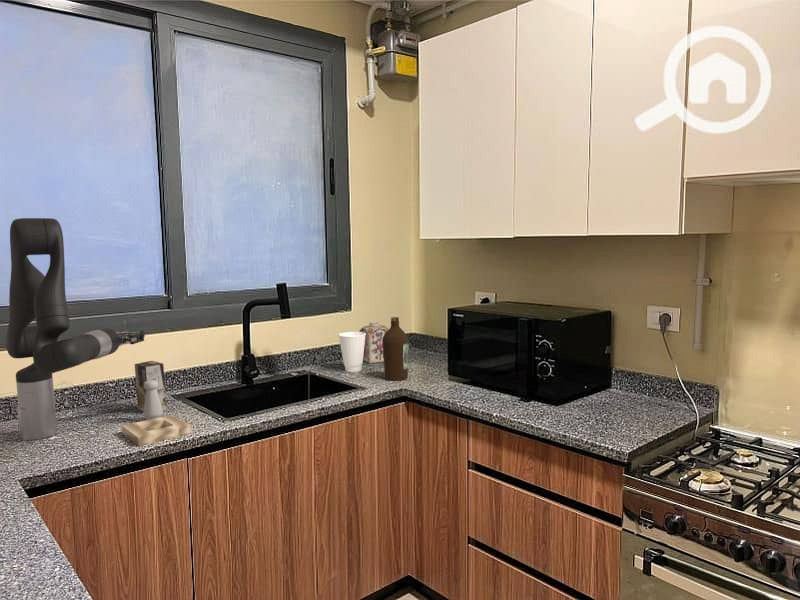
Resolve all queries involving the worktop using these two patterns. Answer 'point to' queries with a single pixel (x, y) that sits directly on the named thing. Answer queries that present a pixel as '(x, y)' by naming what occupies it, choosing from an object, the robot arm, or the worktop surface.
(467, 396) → the worktop surface
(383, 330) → the decorative jar
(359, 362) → the cup
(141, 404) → the coffee box
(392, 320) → the olive oil
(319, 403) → the worktop surface
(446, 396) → the worktop surface
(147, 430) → the bore housing
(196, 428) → the worktop surface
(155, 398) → the salt shaker
